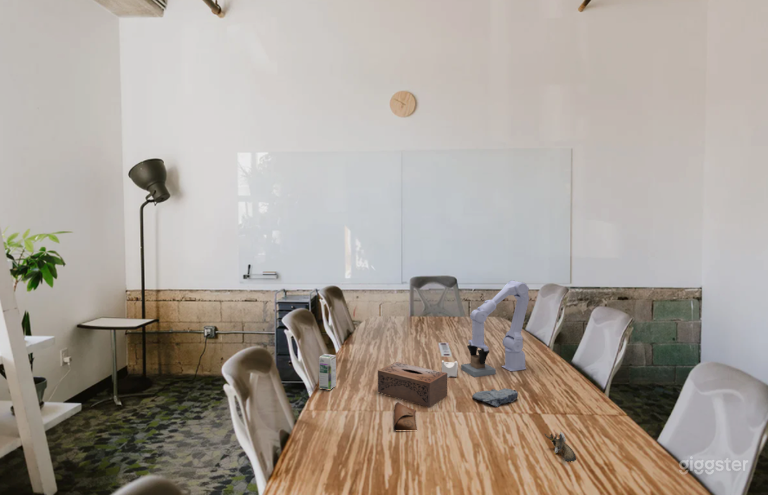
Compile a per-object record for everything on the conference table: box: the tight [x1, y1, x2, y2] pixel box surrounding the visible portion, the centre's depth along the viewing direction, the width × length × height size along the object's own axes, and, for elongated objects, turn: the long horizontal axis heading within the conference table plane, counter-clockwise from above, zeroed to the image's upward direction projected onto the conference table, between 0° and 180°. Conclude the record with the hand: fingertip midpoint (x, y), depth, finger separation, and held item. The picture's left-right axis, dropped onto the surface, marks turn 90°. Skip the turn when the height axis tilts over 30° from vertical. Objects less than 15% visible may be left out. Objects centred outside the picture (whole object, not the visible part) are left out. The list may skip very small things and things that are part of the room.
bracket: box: [441, 360, 459, 378], centre depth 202 cm, size 13×7×8 cm, turn 168°
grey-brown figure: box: [543, 431, 577, 462], centre depth 128 cm, size 8×7×9 cm
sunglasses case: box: [393, 401, 418, 431], centre depth 152 cm, size 18×7×7 cm
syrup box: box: [318, 353, 337, 390], centre depth 183 cm, size 6×6×14 cm
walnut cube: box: [470, 354, 486, 369], centre depth 203 cm, size 5×5×5 cm
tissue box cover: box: [377, 361, 448, 408], centre depth 176 cm, size 26×14×10 cm, turn 53°
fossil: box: [472, 387, 519, 408], centre depth 170 cm, size 13×18×4 cm
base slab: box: [460, 362, 497, 378], centre depth 204 cm, size 12×12×2 cm
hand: (478, 361), depth 203 cm, fingers open, 7 cm apart
